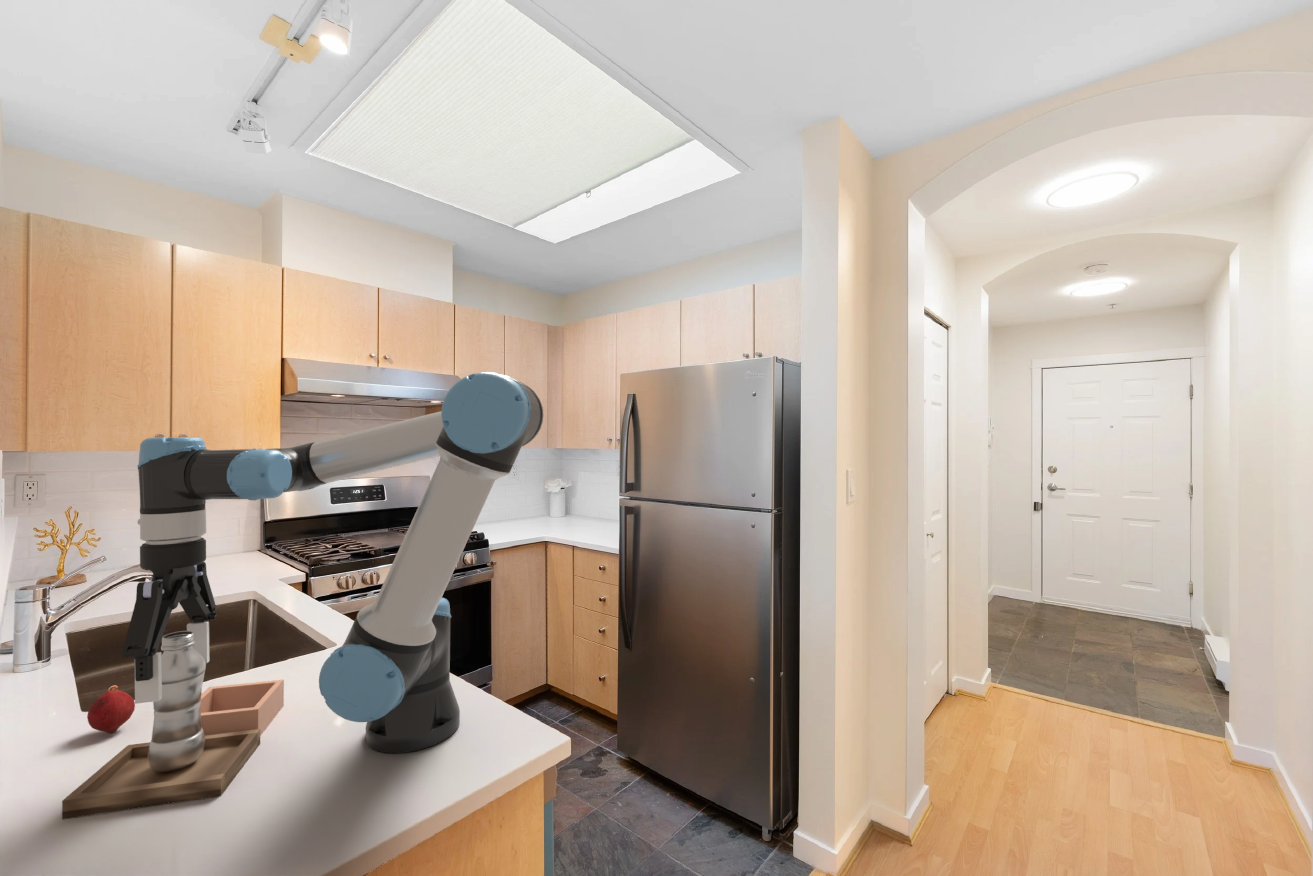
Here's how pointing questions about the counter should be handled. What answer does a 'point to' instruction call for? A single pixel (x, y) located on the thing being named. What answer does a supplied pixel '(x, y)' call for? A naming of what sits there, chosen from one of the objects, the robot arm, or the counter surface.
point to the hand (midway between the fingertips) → (175, 681)
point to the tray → (161, 777)
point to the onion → (111, 710)
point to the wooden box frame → (241, 706)
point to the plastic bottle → (178, 705)
